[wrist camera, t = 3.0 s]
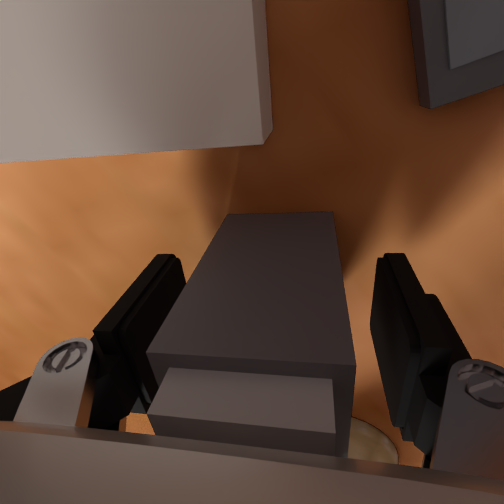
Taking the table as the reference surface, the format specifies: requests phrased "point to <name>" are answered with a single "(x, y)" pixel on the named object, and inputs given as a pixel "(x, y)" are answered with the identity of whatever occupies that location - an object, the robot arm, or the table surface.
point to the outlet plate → (131, 77)
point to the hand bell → (370, 444)
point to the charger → (260, 340)
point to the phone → (456, 48)
